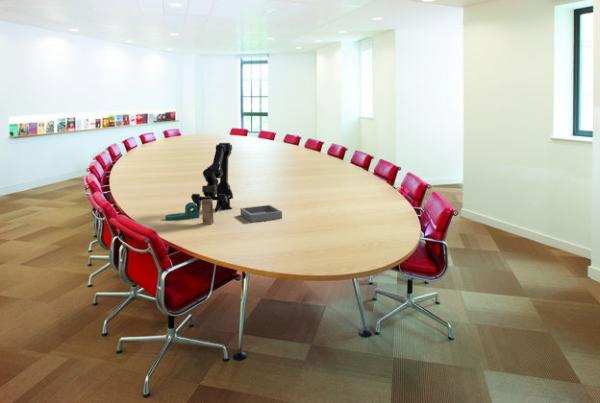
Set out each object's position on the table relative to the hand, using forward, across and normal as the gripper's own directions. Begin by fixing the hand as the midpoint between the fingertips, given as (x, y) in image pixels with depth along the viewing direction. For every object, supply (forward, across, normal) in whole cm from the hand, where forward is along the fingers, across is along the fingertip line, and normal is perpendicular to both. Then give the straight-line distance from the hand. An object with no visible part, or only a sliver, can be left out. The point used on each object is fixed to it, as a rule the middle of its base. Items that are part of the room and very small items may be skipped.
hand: (206, 212), depth 255 cm
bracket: (-4, -18, +13) cm, 23 cm away
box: (-8, +26, +17) cm, 31 cm away
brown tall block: (+4, 0, +6) cm, 7 cm away
